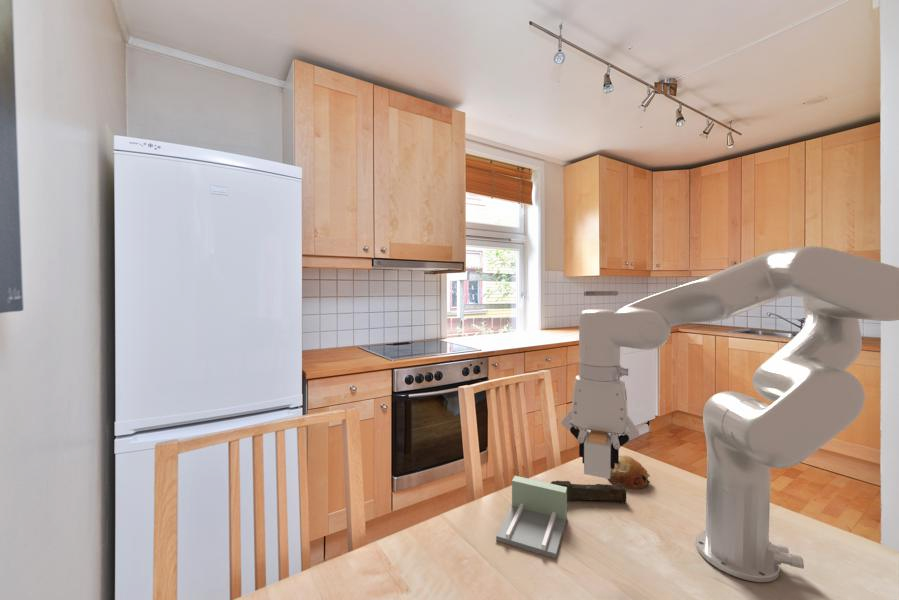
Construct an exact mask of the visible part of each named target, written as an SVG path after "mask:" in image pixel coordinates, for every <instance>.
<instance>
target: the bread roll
mask: <svg viewBox="0 0 899 600" xmlns="http://www.w3.org/2000/svg"><path fill="white" fill-rule="evenodd" d="M649 478H650V473H648V470H647V469H646V468H645V466H643V465H642V464H641V463H640V462H638V461H637V460H636V459H635V458H634V457H632V456H629V455H625V454H622V455H619V464H617V463H615V467H614V469H611V473H610V479H608V480H609V481H610V482H612V483H613V485H616V484H619V483H620V484H623V486H624V488H625V489H633V490H634V489H635V490H640V489H643V488H645V487H646V486H647V484H650V482H651V481H650V480H649Z"/></svg>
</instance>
